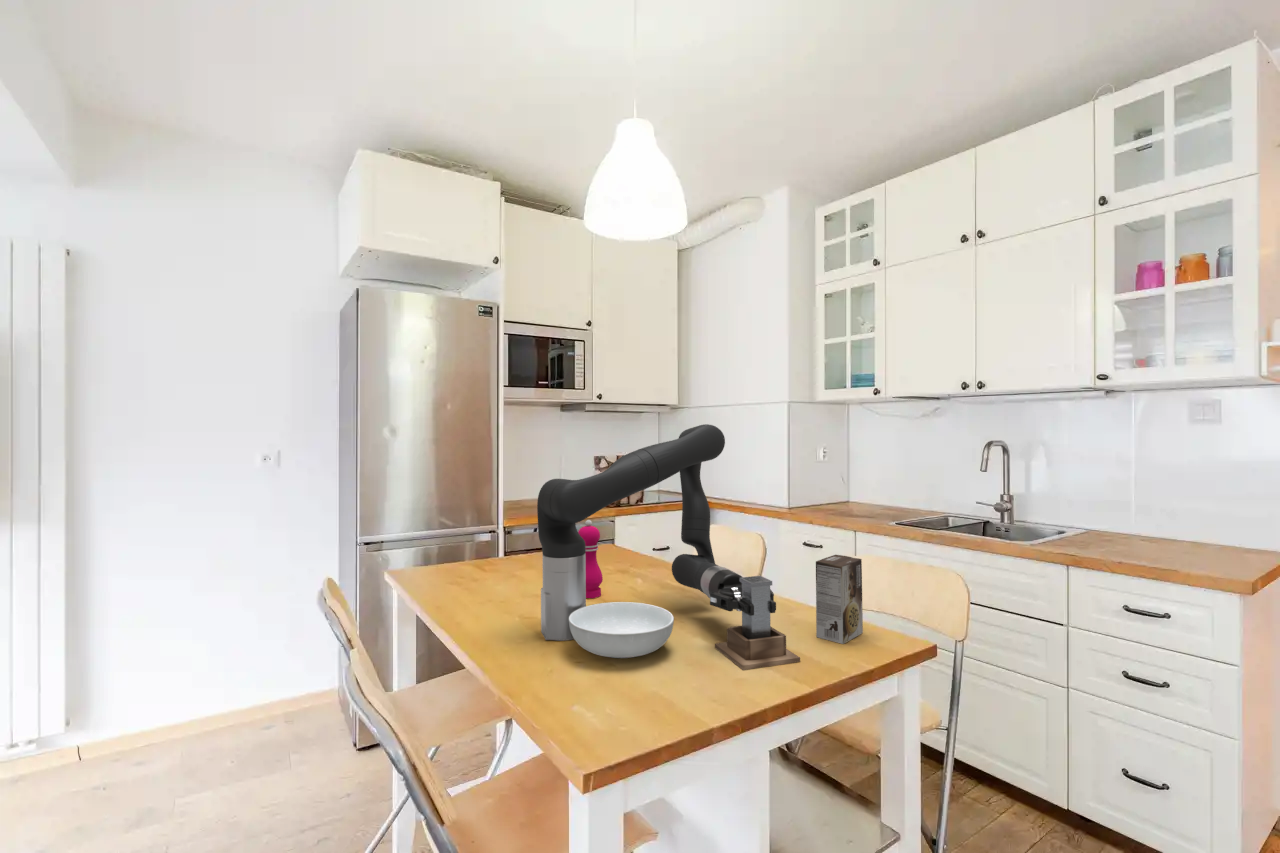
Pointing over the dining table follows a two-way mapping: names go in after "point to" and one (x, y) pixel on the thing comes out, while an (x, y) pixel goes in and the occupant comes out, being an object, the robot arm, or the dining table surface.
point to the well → (756, 649)
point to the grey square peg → (756, 607)
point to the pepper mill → (591, 560)
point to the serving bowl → (621, 628)
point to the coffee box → (839, 598)
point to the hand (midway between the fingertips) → (763, 609)
